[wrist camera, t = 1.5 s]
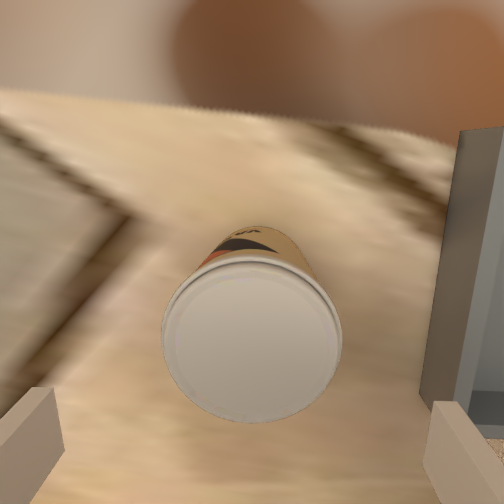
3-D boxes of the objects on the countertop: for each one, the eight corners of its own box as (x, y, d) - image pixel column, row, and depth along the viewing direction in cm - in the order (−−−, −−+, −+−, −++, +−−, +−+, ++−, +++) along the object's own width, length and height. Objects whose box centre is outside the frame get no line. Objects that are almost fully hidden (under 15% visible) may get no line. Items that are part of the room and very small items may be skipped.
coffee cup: (260, 190, 27) (253, 219, 16) (338, 275, 29) (385, 357, 17) (177, 268, 29) (118, 345, 18) (255, 343, 31) (247, 458, 19)
